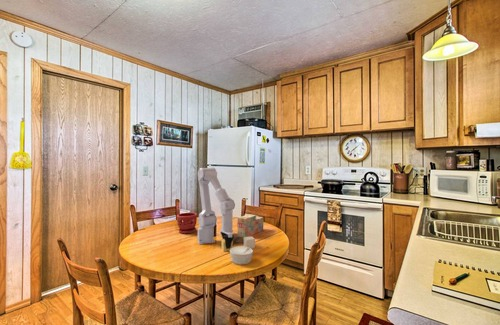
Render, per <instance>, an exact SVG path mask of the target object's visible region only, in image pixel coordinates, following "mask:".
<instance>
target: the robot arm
mask: <svg viewBox="0 0 500 325" xmlns="http://www.w3.org/2000/svg"><path fill="white" fill-rule="evenodd" d="M197 180H198V184H199V192H200V194H199V195H200V200H201V201H200V202H201V212H199V214H198V219H197V221H198V222H197V223H198V225H199V227H197V242H198V244H199V245H202V244H203V245H204V244H215V243H216V241H215V239H214V236H215V234H214V232H215V226H216V224H217V222H218V221H217V220H218V218H217V216H216V212H215V211H214V210H213V209H212V205H211V204H212V203H211V196H210V189H209V187H210V186H209V183H211V185H212V186H213V188H214V190H215V191H216V192H215V195H216V198H217V199H218V201H219V203H220V204H219V209H220V214H221V229H220V230H219V232H220V235H221V238H222V239H225V244H226V249H230V247H231V243H232V240H233V238H234V235H232V234H233V231H234V229H233V213H234V212H233V210H234V209H235V208H236V204H235V201H234V200H233V199H232V198H231V197H230V196H229V195H228V193H227V191H226V189H225V188H223V187H222V185H221V184H220V181H219V179H218V171H217V169H216V168H215V167H200V168H199V169H198V171H197Z"/></svg>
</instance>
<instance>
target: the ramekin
mask: <svg viewBox="0 0 500 325" xmlns="http://www.w3.org/2000/svg"><path fill="white" fill-rule="evenodd" d="M233 247H234V248H231V249H230V251H229V254H230V258H231V259H230V260H231V262H232V263H233V264H236V265H247V264H249V263H251V261H252V258H253V254H254V250H253V248H249V247H244V245H238V247H236V246H233Z"/></svg>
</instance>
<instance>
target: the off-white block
mask: <svg viewBox="0 0 500 325" xmlns="http://www.w3.org/2000/svg"><path fill="white" fill-rule="evenodd" d="M243 246H245V247H249V248H251V249H255V248H256V238H254V237H253V235H251V236H249V237H244V241H243Z"/></svg>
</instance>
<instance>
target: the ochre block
mask: <svg viewBox="0 0 500 325" xmlns="http://www.w3.org/2000/svg"><path fill="white" fill-rule="evenodd" d="M233 245H234V244H233V241H232V243H231V247H230V249H231V248H233V247H234V246H233ZM230 249H226V244H225V239H223V238H222V239H221V250H222V252H230Z"/></svg>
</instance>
